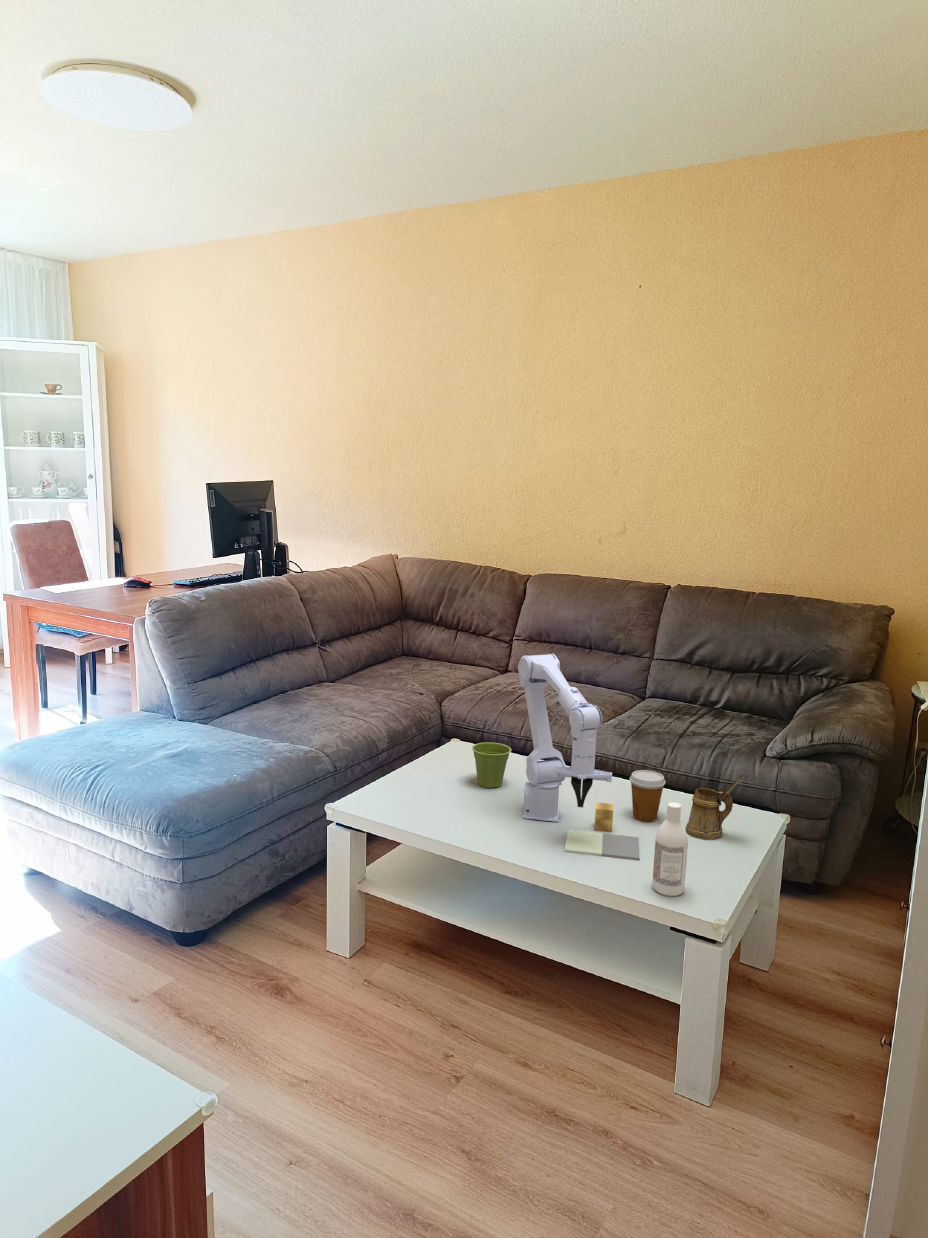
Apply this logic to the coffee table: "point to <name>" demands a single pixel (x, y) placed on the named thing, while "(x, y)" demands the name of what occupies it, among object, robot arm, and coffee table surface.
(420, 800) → the coffee table surface
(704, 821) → the wooden mug
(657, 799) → the disposable coffee cup
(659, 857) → the bath foam
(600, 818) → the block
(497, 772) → the plant pot
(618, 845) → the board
